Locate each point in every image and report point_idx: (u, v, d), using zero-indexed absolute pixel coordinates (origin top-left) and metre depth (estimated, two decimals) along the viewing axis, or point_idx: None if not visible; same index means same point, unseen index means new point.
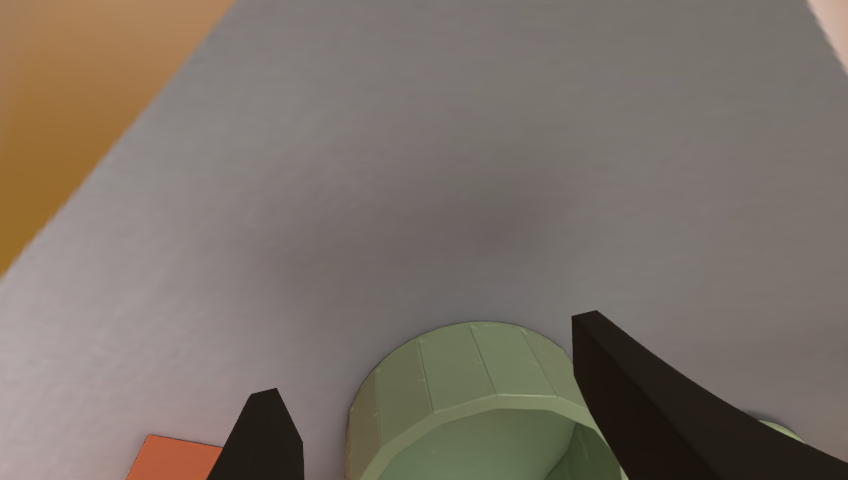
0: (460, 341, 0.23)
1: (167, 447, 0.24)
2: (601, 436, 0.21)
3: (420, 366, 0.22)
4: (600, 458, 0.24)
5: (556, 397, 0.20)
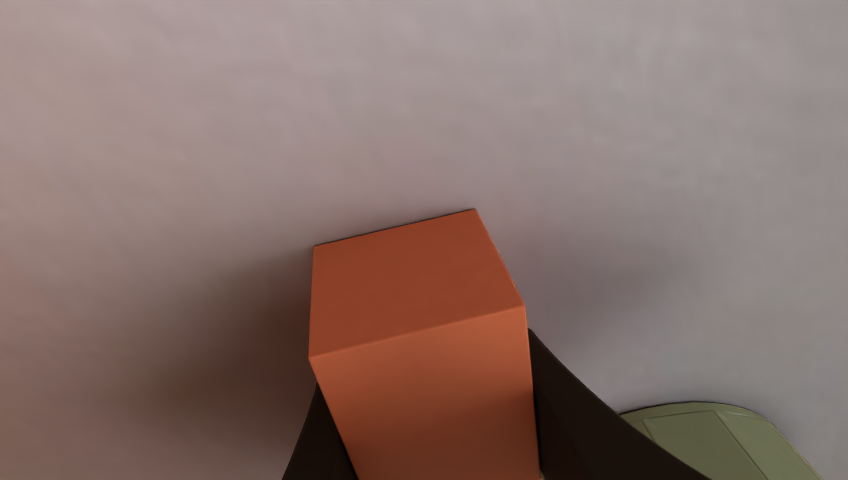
0: (813, 469, 0.17)
1: None
2: None
3: (812, 473, 0.16)
4: None
5: None
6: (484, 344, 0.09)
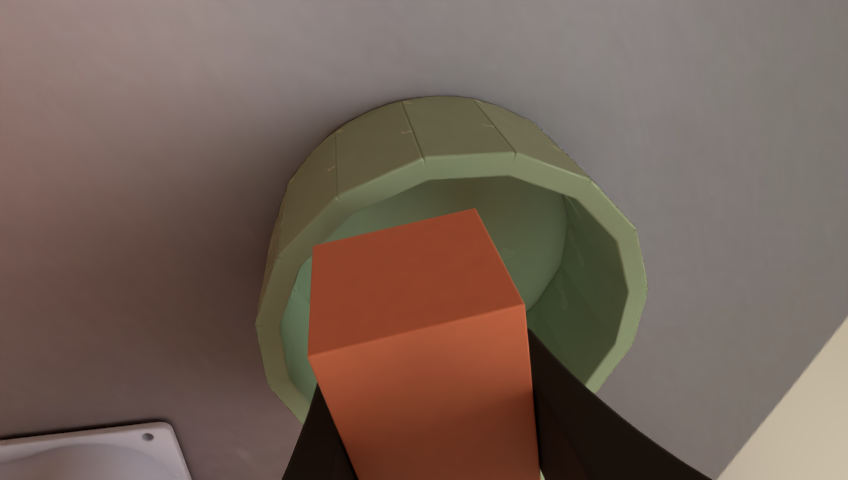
0: None
1: None
2: (608, 355, 0.18)
3: (551, 140, 0.17)
4: None
5: (645, 287, 0.17)
6: (483, 343, 0.09)
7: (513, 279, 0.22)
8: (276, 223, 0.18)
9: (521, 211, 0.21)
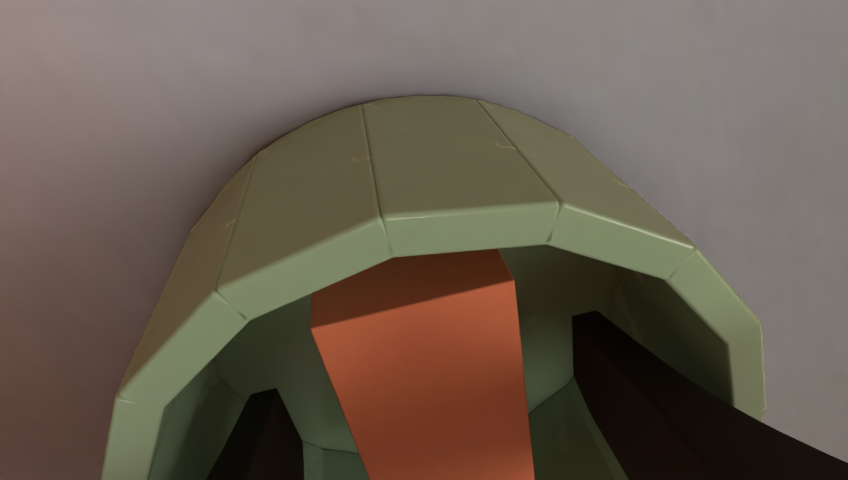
0: None
1: None
2: None
3: (605, 167, 0.10)
4: None
5: (761, 407, 0.10)
6: (475, 318, 0.10)
7: (534, 355, 0.16)
8: None
9: (548, 264, 0.14)
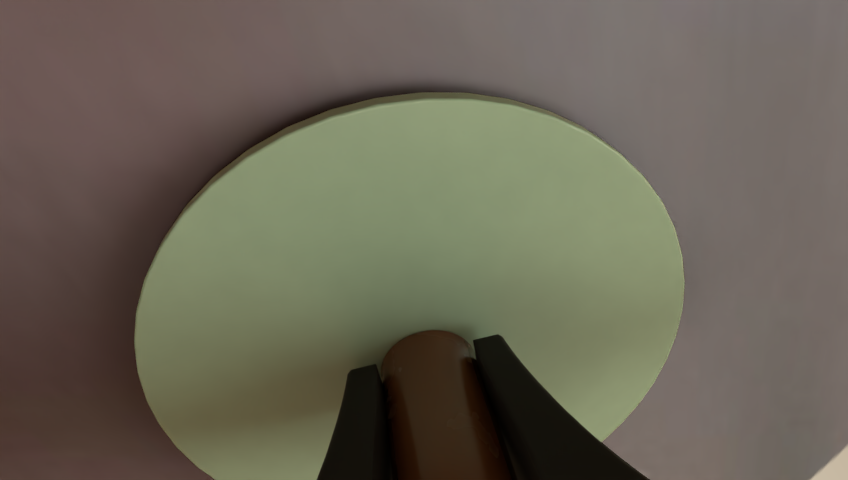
0: None
1: None
2: None
3: None
4: None
5: None
6: None
7: None
8: None
9: None
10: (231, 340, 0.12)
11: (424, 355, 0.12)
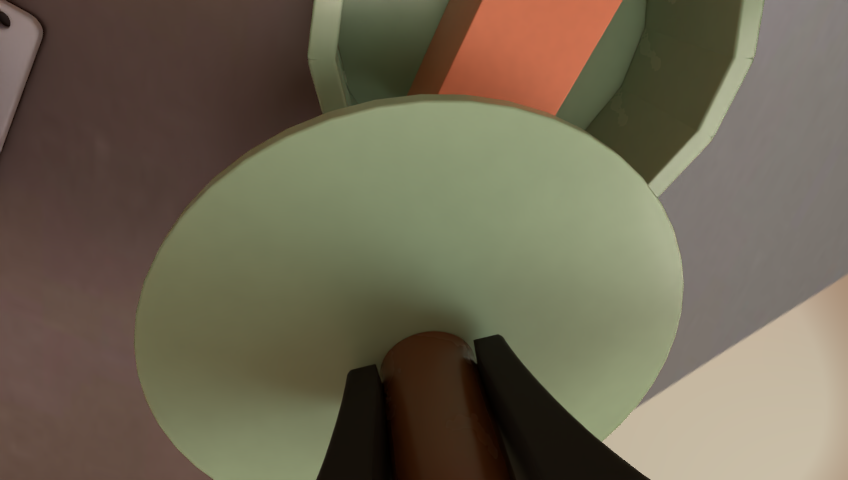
0: None
1: None
2: None
3: None
4: None
5: (711, 136, 0.16)
6: None
7: None
8: None
9: None
10: (231, 341, 0.12)
11: (423, 356, 0.12)
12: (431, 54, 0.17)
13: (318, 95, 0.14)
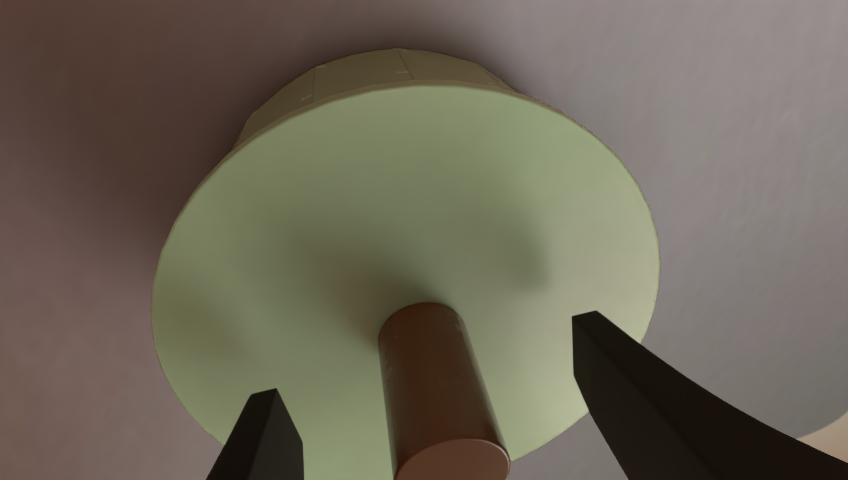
0: None
1: None
2: None
3: None
4: None
5: None
6: None
7: None
8: (350, 63, 0.15)
9: None
10: (239, 310, 0.13)
11: (417, 324, 0.13)
12: None
13: None
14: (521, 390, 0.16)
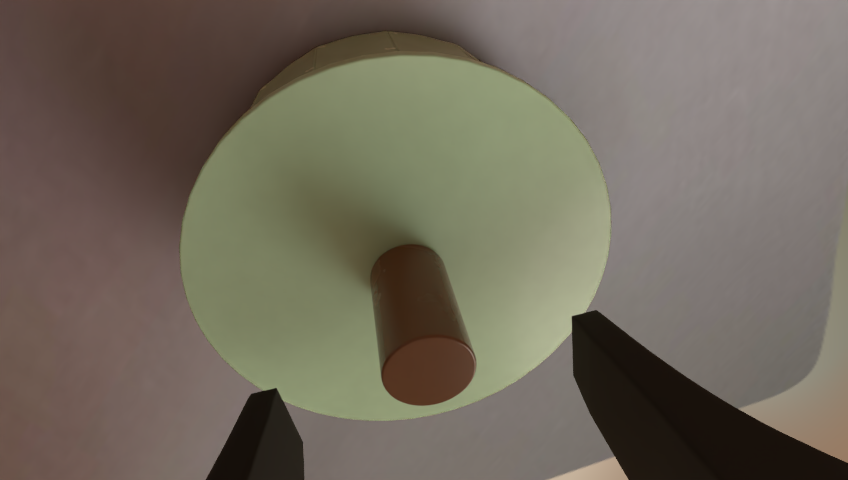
0: None
1: None
2: None
3: None
4: None
5: None
6: None
7: None
8: (347, 43, 0.17)
9: None
10: (253, 248, 0.15)
11: (403, 259, 0.15)
12: None
13: None
14: (495, 328, 0.18)
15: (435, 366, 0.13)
